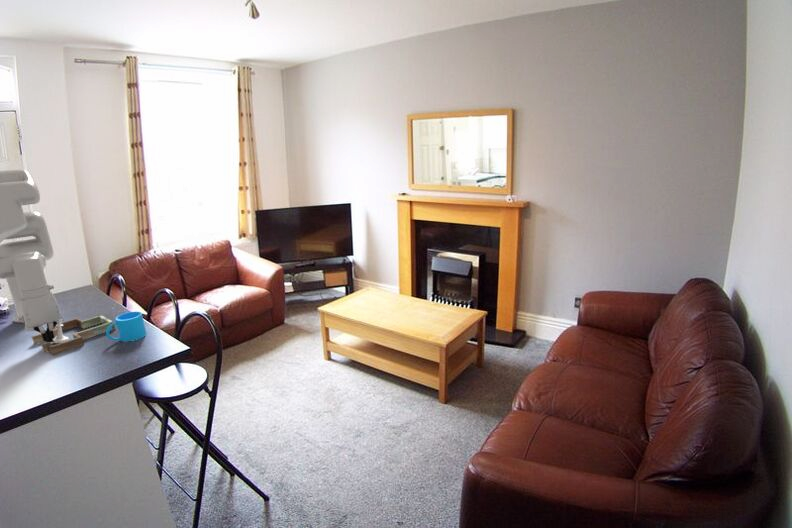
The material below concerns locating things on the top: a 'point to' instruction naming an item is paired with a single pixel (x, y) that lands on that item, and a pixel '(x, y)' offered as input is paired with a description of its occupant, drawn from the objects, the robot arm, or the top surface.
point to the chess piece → (60, 334)
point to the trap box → (77, 336)
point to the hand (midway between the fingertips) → (49, 341)
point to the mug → (128, 326)
